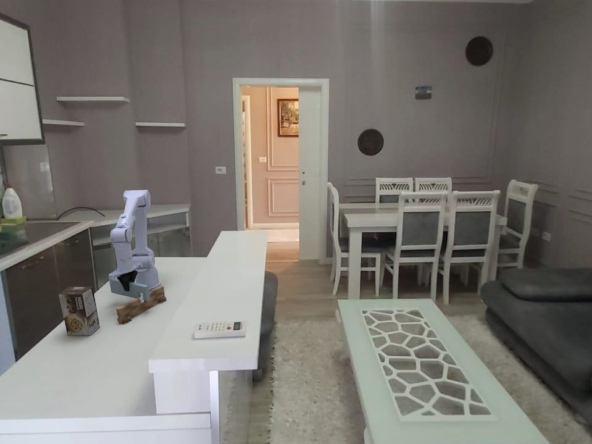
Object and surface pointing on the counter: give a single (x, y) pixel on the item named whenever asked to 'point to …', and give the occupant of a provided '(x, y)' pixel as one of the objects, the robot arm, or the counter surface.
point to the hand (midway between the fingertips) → (129, 289)
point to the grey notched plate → (130, 289)
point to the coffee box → (79, 310)
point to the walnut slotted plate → (140, 305)
